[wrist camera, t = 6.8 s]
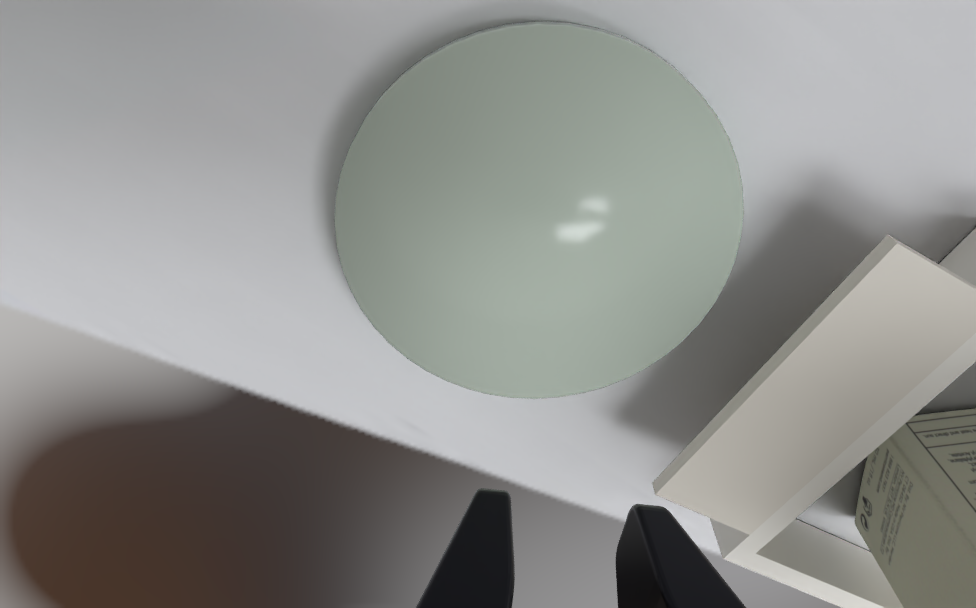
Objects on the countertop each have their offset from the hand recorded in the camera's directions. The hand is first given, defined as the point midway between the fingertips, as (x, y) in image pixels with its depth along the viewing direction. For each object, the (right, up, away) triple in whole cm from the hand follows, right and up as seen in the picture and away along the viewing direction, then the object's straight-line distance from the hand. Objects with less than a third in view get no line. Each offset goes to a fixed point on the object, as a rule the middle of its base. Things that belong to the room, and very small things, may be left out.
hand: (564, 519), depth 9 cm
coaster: (0, +4, +7) cm, 8 cm away
